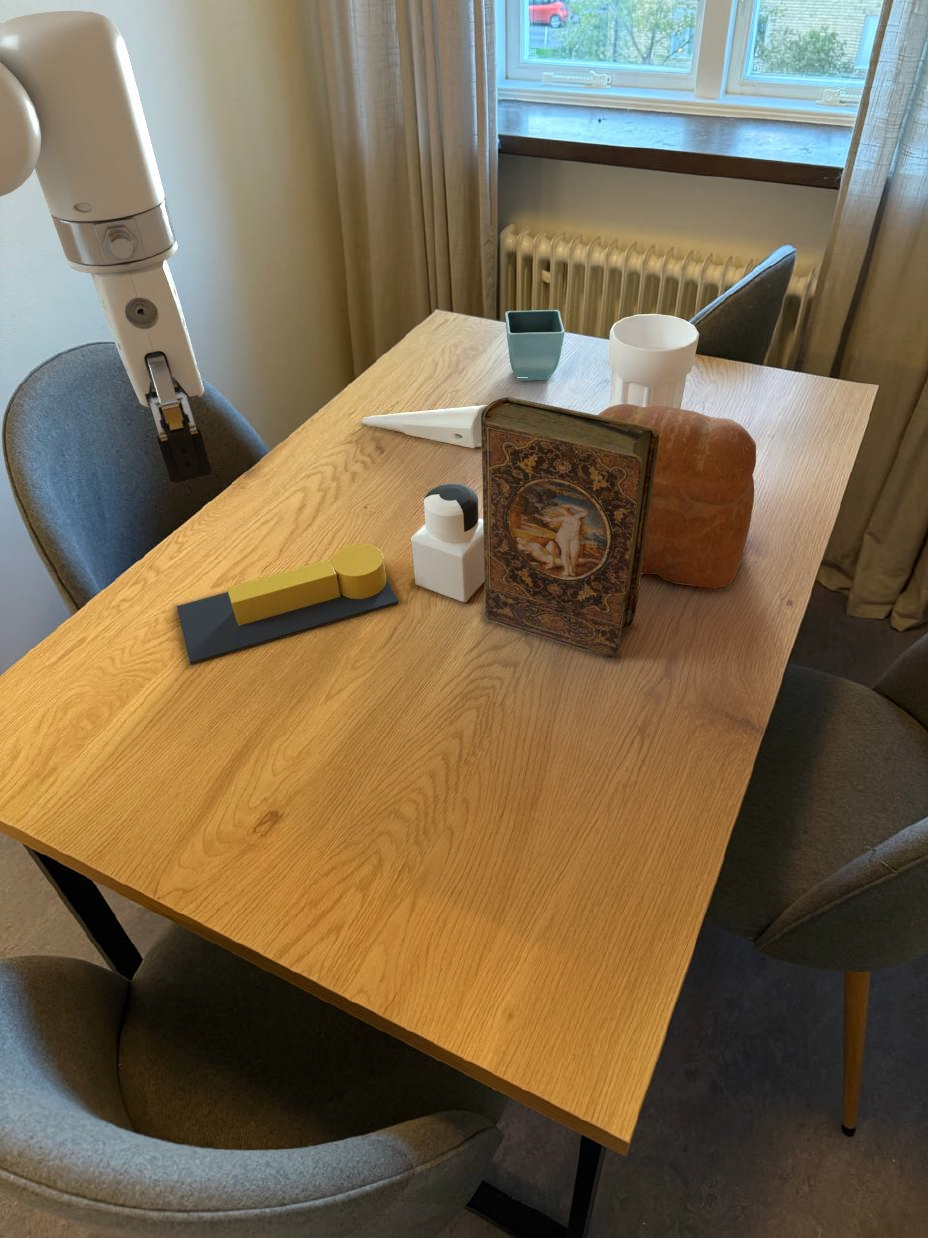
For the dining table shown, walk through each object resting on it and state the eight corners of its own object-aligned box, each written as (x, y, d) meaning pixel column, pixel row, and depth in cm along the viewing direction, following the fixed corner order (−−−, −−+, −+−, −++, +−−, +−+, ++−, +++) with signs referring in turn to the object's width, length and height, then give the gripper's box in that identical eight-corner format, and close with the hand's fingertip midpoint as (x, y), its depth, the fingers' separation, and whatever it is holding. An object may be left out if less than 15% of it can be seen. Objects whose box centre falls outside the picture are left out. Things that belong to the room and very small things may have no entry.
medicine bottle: (445, 552, 103) (440, 470, 95) (495, 569, 101) (494, 486, 92) (414, 585, 99) (405, 501, 91) (465, 604, 96) (461, 520, 88)
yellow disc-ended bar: (241, 634, 93) (234, 611, 91) (231, 602, 97) (224, 579, 95) (393, 590, 98) (390, 567, 95) (377, 561, 102) (374, 538, 100)
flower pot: (556, 361, 140) (559, 308, 134) (562, 386, 134) (565, 332, 128) (504, 363, 140) (504, 310, 134) (507, 388, 134) (507, 334, 128)
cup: (662, 478, 114) (680, 358, 102) (586, 457, 118) (595, 339, 106) (691, 440, 120) (711, 323, 109) (619, 421, 125) (631, 307, 113)
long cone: (385, 416, 132) (494, 430, 124) (364, 439, 128) (475, 455, 120) (376, 384, 128) (488, 396, 120) (354, 406, 124) (468, 421, 116)
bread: (730, 607, 94) (762, 482, 83) (548, 569, 100) (554, 447, 89) (750, 520, 106) (779, 400, 95) (586, 490, 112) (595, 374, 101)
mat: (190, 664, 91) (189, 662, 90) (177, 608, 97) (176, 605, 97) (398, 603, 97) (398, 600, 96) (372, 554, 104) (372, 552, 103)
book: (478, 617, 94) (472, 420, 77) (498, 588, 98) (497, 394, 81) (617, 660, 89) (643, 458, 72) (633, 628, 92) (662, 428, 75)
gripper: (191, 264, 53) (248, 490, 64) (156, 191, 65) (209, 392, 76) (67, 285, 51) (149, 514, 63) (55, 206, 63) (125, 410, 74)
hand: (182, 447), depth 69 cm, fingers open, 9 cm apart
